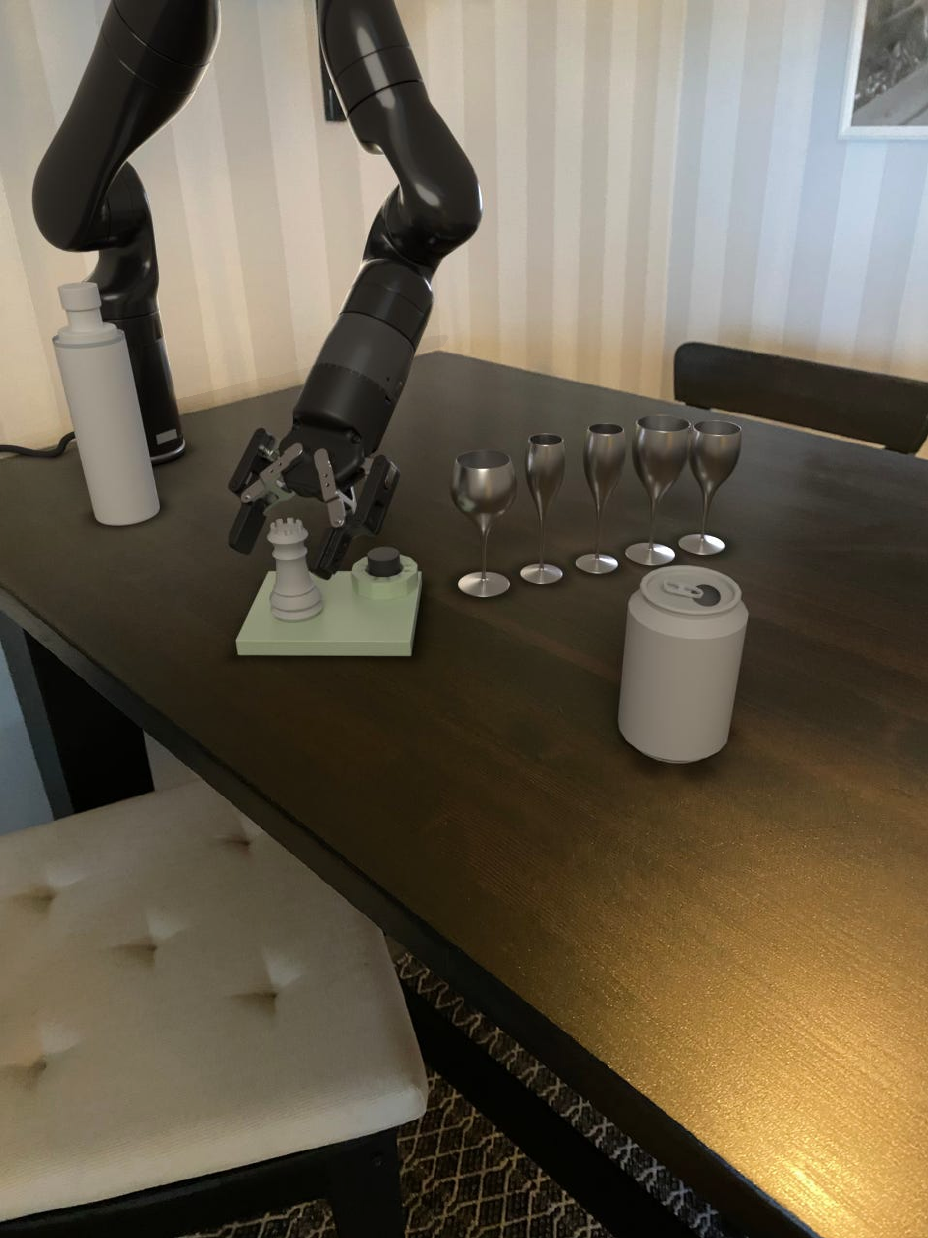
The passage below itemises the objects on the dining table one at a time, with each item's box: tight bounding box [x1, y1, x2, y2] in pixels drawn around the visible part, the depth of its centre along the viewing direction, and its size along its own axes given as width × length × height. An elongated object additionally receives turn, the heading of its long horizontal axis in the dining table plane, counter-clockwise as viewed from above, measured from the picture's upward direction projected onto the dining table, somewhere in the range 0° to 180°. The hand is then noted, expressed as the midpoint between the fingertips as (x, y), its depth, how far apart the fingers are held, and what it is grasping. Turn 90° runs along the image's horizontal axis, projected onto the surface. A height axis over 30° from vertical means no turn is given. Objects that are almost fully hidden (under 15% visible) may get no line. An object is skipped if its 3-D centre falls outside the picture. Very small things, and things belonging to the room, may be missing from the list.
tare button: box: [366, 546, 401, 577], centre depth 78 cm, size 3×3×2 cm
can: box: [617, 564, 750, 764], centre depth 60 cm, size 8×8×12 cm
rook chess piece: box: [266, 517, 323, 623], centre depth 73 cm, size 4×4×8 cm
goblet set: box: [449, 414, 742, 598], centre depth 82 cm, size 28×6×13 cm, turn 109°
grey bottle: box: [51, 281, 161, 527], centre depth 91 cm, size 7×7×25 cm
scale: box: [235, 554, 423, 657], centre depth 77 cm, size 14×12×3 cm
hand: (277, 563), depth 72 cm, fingers open, 8 cm apart
